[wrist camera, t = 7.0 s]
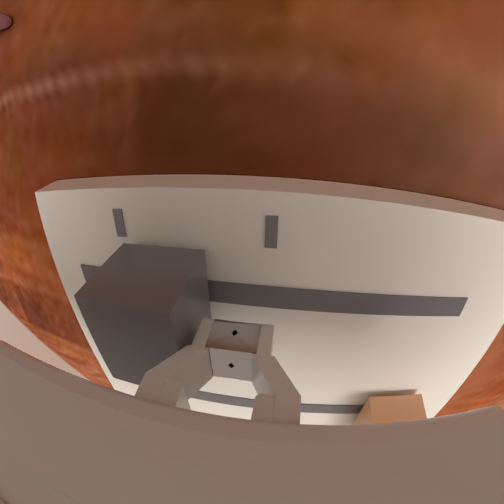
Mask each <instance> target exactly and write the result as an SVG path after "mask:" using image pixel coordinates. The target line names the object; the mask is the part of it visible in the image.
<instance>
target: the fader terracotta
mask: <svg viewBox="0 0 504 504" xmlns="http://www.w3.org/2000/svg"><path fill="white" fill-rule="evenodd" d="M419 419H427V416H426V412H425V407H424V403H423V398H422V394H414V395H400V396H380V397H369V398H368V400H367V402H366V403H365V405H364V407H363V408H362V410H361V411H360V413H359V415H358V416H357V418H356V419H355V421H354V422H353V424H352V425H358V424H379V423H392V422H402V421H411V420H419Z"/></svg>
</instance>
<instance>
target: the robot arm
mask: <svg viewBox="0 0 504 504" xmlns="http://www.w3.org/2000/svg"><path fill="white" fill-rule="evenodd" d="M273 338H274V325H269V324H257V323H246V322H235V321H228V320H221V319H212V318H206V317H204V318H203V319H202V320H201V322H200V325H199V327H198V330H197V332H196V335H195V337H194V339H193V342H192V344H191V345H187V346H185V347H184V348H182V349H181V350H179V351H178V352H176V353H175V354H173V355H172V356H170V357H169V358H167V359H166V360H164V361H163V362H161V363H160V364H158V365H156V366H155V367H153V368H152V369H150V370H149V371H147V372H146V373H145V375H144V377H143V379H142V381H141V383H140V385H139V387H138V389H137V391H136V393H135V395H134V396H133V395H130V394H126V393H123V392H120V391H117V390H114V389H111V388H108V387H105V386H102V385H99V384H96V383H94V382H91V381H88V380H86V379H83V378H80V377H78V376H75V375H73V374H70V373H68V372H66V371H63V370H61V369H59V368H56V367H54V366H52V365H50V364H47V363H45V362H43V361H41V360H39V359H36V358H35V357H32V356H30V355H29V354H27V353H24V352H23V351H21V350H19V349H17V348H15V347H13V346H11V345H10V344H8V343H6V342H4V341H1V340H0V504H504V410H503V409H501V408H500V407H498V406H496V405H492V406H487V407H483V408H479V409H475V410H470V411H466V412H461V413H456V414H451V415H445V416H440V417H433V418H427V419H419V420H411V421H402V422H392V423H379V424H358V425H312V424H300V413H301V395H300V394H299V392H298V391H297V389H296V388H295V386H294V385H293V383H292V382H291V380H290V379H289V377H288V376H287V374H286V373H285V371H284V370H283V368H282V367H281V365H280V364H279V362H278V361H277V359H276V358H275V356H272V350H273ZM213 376H215V377H223V378H232V379H238V380H245V381H252V384H253V386H254V388H255V390H256V392H257V394H258V395H256V396H255V400H254V406H253V411H252V416H251V420H248V419H241V418H234V417H227V416H221V415H215V414H209V413H203V412H198V411H193V410H191V408H190V405H189V402H188V400H189V399H190V398H191V397H192V396H193V395H194V394H195V393H196V392H197V391H199V390H200V389H201V388H202V387H203V386H204V385H205V384H206V383H207V382H208V381H209V380H211V379H212V378H213Z"/></svg>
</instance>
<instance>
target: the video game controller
mask: <svg viewBox="0 0 504 504" xmlns="http://www.w3.org/2000/svg"><path fill="white" fill-rule="evenodd" d="M11 22H12V20H11V18H10V17H9V16H7V15H4V14H1V13H0V30H2V29H5V28H7V27H9V26H10V25H11Z"/></svg>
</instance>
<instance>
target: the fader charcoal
mask: <svg viewBox="0 0 504 504" xmlns="http://www.w3.org/2000/svg"><path fill="white" fill-rule="evenodd" d="M74 297H75V300H76V302H77V304H78V307H79V309H80V312H81V314H82V316H83V318H84V321H85V323H86V325H87V327H88V329H89V332H90V334H91V336H92V338H93V340H94V342H95V344H96V346H97V348H98V350H99V352H100V354H101V356H102V358H103V360H104V362H105V364H106V365H107V367H108V369H109V371H110V373H111V374H112V376H113V378H116V379H119V380H123V381H126V382H129V383H133V384H136V385H140V383H141V381H142V379H143V377H144V375H145V373H146V372H147V371H149V370H150V369H152V368H153V367H155V366H156V365H158V364H160V363H161V362H163V361H164V360H166V359H167V358H169V357H170V356H172V355H173V354H175V353H176V352H178V351H179V350H181V349H182V348H184V347H185V346H187V345H191V344H192V342H193V339H194V337H195V335H196V332H197V330H198V327H199V325H200V322H201V320H202V319H203V318H204V317H206V318H211V309H210V300H209V290H208V280H207V269H206V258H205V250H200V249H188V248H176V247H164V246H152V245H140V244H128V243H123V244H122V245H121V246H120V247H119V248H118V249H117V250H116V251H115V252H114V253H113V254H112V255H111V256H110V257H109V258H108V259H107V260H106V261H105V262H104V263H103V264H102V266H101V267H100V268H99V269H98V270H97V271H96V272H95V273H94V274H93V275H92V276H91V277H90V278H89V279H88V280H87V282H86V283H85V284H84V285H83V286H82V287H81V288H80V289H79V290H78V292H77V293H76V294H75V295H74ZM191 398H192V397H191Z"/></svg>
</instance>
